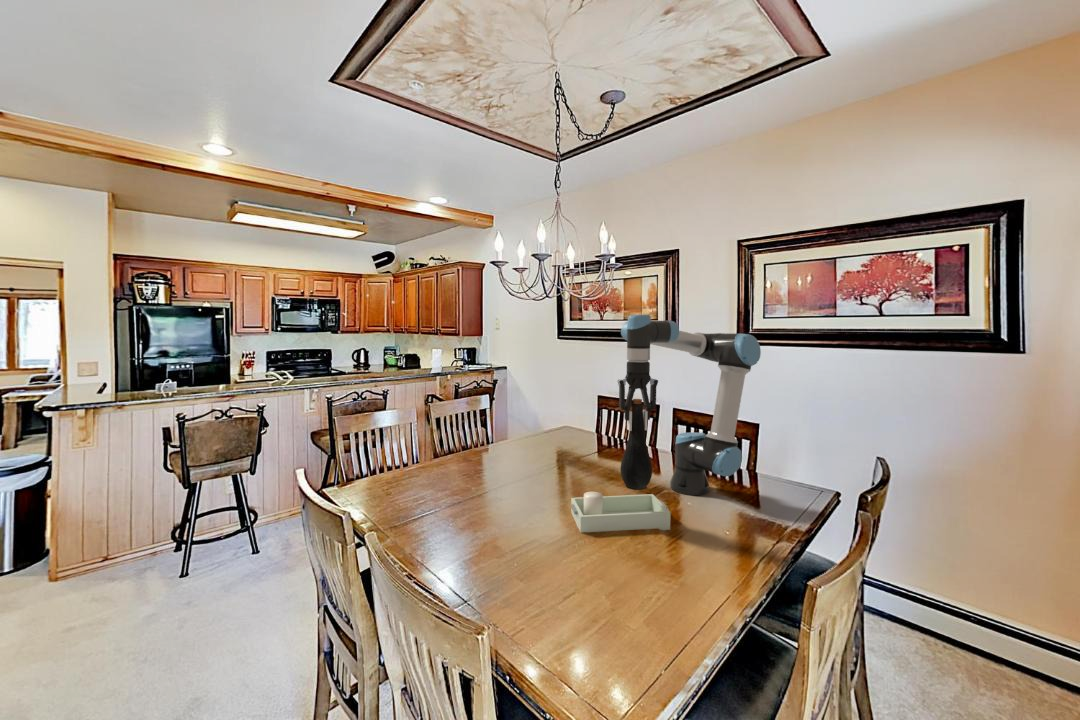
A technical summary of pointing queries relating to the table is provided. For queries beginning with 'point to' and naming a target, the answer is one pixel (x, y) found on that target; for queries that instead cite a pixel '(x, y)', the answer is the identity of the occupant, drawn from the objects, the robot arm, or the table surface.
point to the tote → (623, 514)
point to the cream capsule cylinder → (593, 503)
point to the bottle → (636, 453)
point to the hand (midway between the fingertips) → (637, 429)
